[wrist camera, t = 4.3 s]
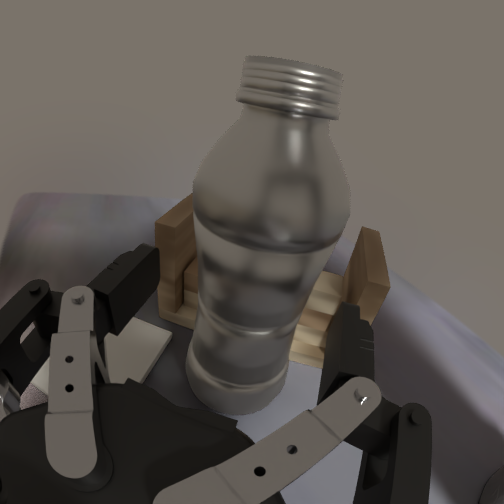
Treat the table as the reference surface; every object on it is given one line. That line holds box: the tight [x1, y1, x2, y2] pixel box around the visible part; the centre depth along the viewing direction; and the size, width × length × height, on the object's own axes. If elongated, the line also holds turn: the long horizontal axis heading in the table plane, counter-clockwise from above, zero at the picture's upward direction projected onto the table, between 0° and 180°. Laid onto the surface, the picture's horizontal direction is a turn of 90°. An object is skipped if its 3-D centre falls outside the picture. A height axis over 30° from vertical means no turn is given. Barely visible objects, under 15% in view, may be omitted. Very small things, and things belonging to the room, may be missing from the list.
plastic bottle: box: [185, 56, 350, 415], centre depth 15 cm, size 6×7×20 cm
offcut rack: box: [155, 193, 390, 368], centre depth 24 cm, size 16×8×9 cm, turn 74°
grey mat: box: [30, 317, 172, 396], centre depth 20 cm, size 9×10×1 cm
